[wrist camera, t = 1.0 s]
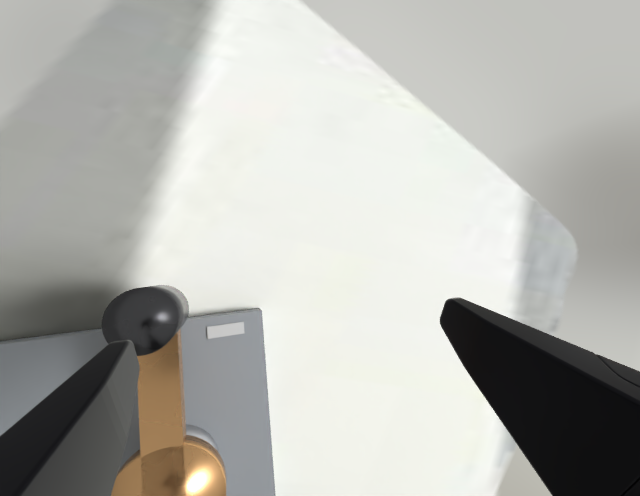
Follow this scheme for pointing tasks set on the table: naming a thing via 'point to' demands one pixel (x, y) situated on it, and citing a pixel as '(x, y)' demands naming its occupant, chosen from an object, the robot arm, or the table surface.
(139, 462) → the crank handle
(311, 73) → the table surface
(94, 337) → the base
